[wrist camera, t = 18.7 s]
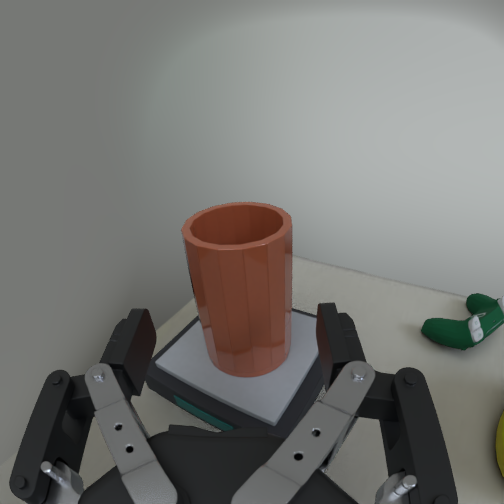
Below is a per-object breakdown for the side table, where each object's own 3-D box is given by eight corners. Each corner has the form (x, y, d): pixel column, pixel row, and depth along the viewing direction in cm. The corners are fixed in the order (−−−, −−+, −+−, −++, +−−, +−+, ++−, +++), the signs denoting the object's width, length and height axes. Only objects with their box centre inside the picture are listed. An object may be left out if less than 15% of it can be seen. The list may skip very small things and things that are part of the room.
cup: (219, 388, 20) (191, 260, 14) (199, 329, 25) (176, 213, 20) (304, 361, 21) (311, 233, 16) (271, 310, 26) (267, 195, 21)
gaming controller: (425, 360, 25) (471, 358, 19) (416, 323, 26) (462, 314, 20) (478, 325, 27) (518, 317, 22) (470, 293, 28) (510, 281, 22)
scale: (280, 460, 17) (280, 442, 16) (147, 388, 23) (135, 365, 21) (344, 343, 26) (348, 318, 24) (229, 306, 32) (226, 282, 30)
